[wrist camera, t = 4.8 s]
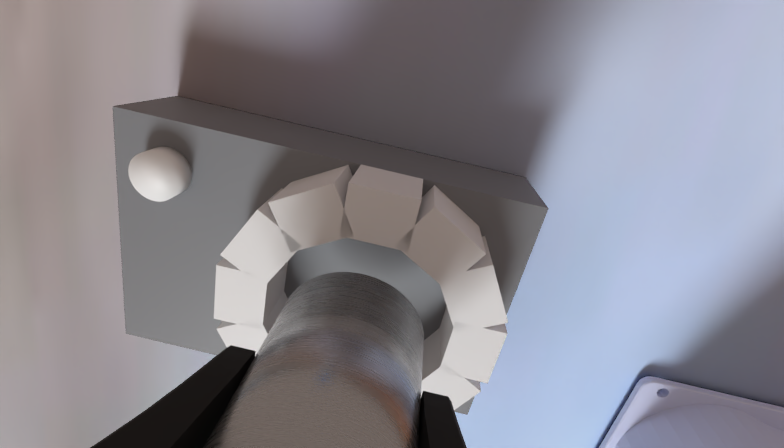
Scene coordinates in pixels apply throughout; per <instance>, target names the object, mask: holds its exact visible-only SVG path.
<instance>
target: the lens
mask: <svg viewBox="0 0 784 448" xmlns="http://www.w3.org/2000/svg"><path fill="white" fill-rule="evenodd" d="M423 348H424V331H423V325H422V322H421V319H420V317H419V315H418V313H417V311H416V309H415V308H414V306H413V305H412V303H411V302H410V301H409V300H408V299H407V298H406V297H405V296H404V295H403V294H402V293H401V292H400V291H398V290H397V289H396V288H394V287H393V286H391V285H390V284H388V283H386V282H384V281H382V280H380V279H377V278H375V277H372V276H368V275H364V274H360V273H353V272H334V273H328V274H323V275H320V276H317V277H314V278H312V279H310V280H308V281H306V282H305V283H303V284H302V285H300V286H299V287H298V288H297V289H296V290H295V291H294V292H293V293H292V294H291V296H290V297H289V298H288V300H287V302H286V303H285V305H284V307H283V309H282V310H281V312H280V314H279V316H278V317H277V319H276V321H275V323H274V324H273V326H272V328H271V330H270V331H269V333H268V335H267V337H266V338H265V340H264V342H263V344H262V345H261V347H260V349H259V351H258V352H257V354H256V356H255V358H254V359H253V361H252V363H251V365H250V366H249V368H248V370H247V372H246V373H245V375H244V377H243V379H242V380H241V382H240V384H239V386H238V387H237V389H236V391H235V393H234V394H233V396H232V398H231V400H230V402H229V403H228V405H227V407H226V409H225V410H224V412H223V414H222V416H221V417H220V419H219V421H218V423H217V424H216V426H215V428H214V430H213V431H212V433H211V435H210V437H209V438H208V440H207V442H206V444H205V445H204V447H203V448H418V441H419V423H420V404H421V385H422V367H423Z"/></svg>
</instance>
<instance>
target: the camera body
mask: <svg viewBox="0 0 784 448" xmlns="http://www.w3.org/2000/svg"><path fill="white" fill-rule="evenodd" d="M113 122H114V139H115V156H116V173H117V191H118V208H119V225H120V242H121V259H122V276H123V293H124V310H125V328H126V334H130V335H134V336H138V337H142V338H147V339H151V340H155V341H159V342H163V343H168V344H172V345H176V346H180V347H184V348H189V349H193V350H197V351H201V352H206V353H210V354H214V355H218V354H219V353H220V352H222V351H223V350H224V349H225V348H227V347H229V346H230V345H232V346H237V347H241V348H245V349H249V350H253V351H256V352H255V356H256V354H257V352H258V351H259V349H260V347H261V345H262V344H263V342H264V340H265V338H266V337H267V335H268V333H269V331H270V330H271V328H272V326H273V324H274V323H275V321H276V319H277V317H278V316H279V314H280V312H281V310H282V309H283V307H284V305H285V303H286V302H287V300H288V298H289V297H290V296H291V294H292V293H293V292H294V291H295V290H296V289H297V288H298V287H299V286H300V285H302V284H303V283H305V282H306V281H308V280H310V279H312V278H314V277H317V276H320V275H323V274H328V273H334V272H353V273H360V274H364V275H368V276H372V277H375V278H377V279H380V280H382V281H384V282H386V283H388V284H390V285H391V286H393V287H394V288H396V289H397V290H398V291H400V292H401V293H402V294H403V295H404V296H405V297H406V298H407V299H408V300H409V301H410V302H411V303H412V305H413V306H414V308H415V309H416V311H417V313H418V315H419V317H420V319H421V322H422V325H423V331H424V348H423V367H422V385H421V396H422V393H423V391H427V392H431V393H435V394H440V395H444V396H448V397H449V398H450V400H451V402H452V405H453V409H454V412H458V413H462V414H468V412H469V409H470V407H471V404H472V402H473V399H474V396H475V395H477V394H478V393H479V392H481V389H480V382H484V383H488V381H489V378H490V376H491V373H492V371H493V369H494V366H495V364H496V361H497V359H498V356H499V354H500V351H501V349H502V346H503V344H504V341H505V339H506V336H507V330H506V326H505V323H508V320H507V316H506V315H507V312H508V310H509V307H510V305H511V302H512V300H513V297H514V295H515V292H516V289H517V287H518V284H519V282H520V279H521V277H522V274H523V272H524V269H525V267H526V264H527V261H528V259H529V256H530V254H531V251H532V249H533V246H534V244H535V241H536V239H537V236H538V233H539V231H540V228H541V226H542V223H543V221H544V218H545V216H546V213H547V210H548V207H547V206H546V205H545V203H544V202H543V200H542V199H541V198H540V196H539V195H538V194H537V192H536V191H535V190H534V188H533V187H532V186H531V184H530V183H529V182H528V180H527V179H526V178H525V177H521V176H517V175H513V174H508V173H504V172H500V171H496V170H491V169H487V168H483V167H478V166H474V165H470V164H466V163H461V162H457V161H453V160H449V159H444V158H440V157H436V156H431V155H427V154H423V153H419V152H414V151H410V150H406V149H402V148H397V147H393V146H389V145H384V144H380V143H376V142H372V141H367V140H363V139H359V138H354V137H350V136H346V135H342V134H337V133H333V132H329V131H325V130H320V129H316V128H312V127H307V126H303V125H299V124H295V123H290V122H286V121H282V120H277V119H273V118H269V117H265V116H260V115H256V114H252V113H248V112H243V111H239V110H235V109H230V108H226V107H222V106H218V105H213V104H209V103H205V102H200V101H196V100H192V99H188V98H183V97H179V96H174V97H168V98H162V99H155V100H149V101H143V102H136V103H130V104H124V105H117V106H113Z"/></svg>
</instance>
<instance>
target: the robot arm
mask: <svg viewBox="0 0 784 448" xmlns="http://www.w3.org/2000/svg"><path fill="white" fill-rule="evenodd" d="M255 352H256V351H253V350H249V349H245V348H241V347H237V346H232V345H230V346H229V347H227V348H225V349H224V350H223V351H222V352H220V353H219V354H218V355H217V356H216V357H214V358H213V359H212V360H211V361H209V362H208V363H207V364H206V365H204V366H203V367H202V368H201V369H199V370H198V371H197V372H196V373H194V374H193V375H192V376H190V377H189V378H188V379H187V380H185V381H184V382H183V383H182V384H180V385H179V386H178V387H176V388H175V389H174V390H172V391H171V392H169V393H168V394H167V395H165V396H164V397H163V398H161V399H160V400H159V401H157V402H156V403H155V404H153V405H152V406H151V407H149V408H148V409H147V410H145V411H144V412H142V413H141V414H139V415H138V416H137V417H135V418H134V419H132V420H131V421H129V422H128V423H126V424H125V425H123V426H122V427H120V428H119V429H117V430H116V431H115V432H113V433H112V434H110V435H109V436H107V437H106V438H104V439H103V440H101V441H100V442H98V443H97V444H95V445H94V446H92V447H90V448H203V447H204V445H205V444H206V442H207V440H208V438H209V437H210V435H211V433H212V431H213V430H214V428H215V426H216V424H217V423H218V421H219V419H220V417H221V416H222V414H223V412H224V410H225V409H226V407H227V405H228V403H229V402H230V400H231V398H232V396H233V394H234V393H235V391H236V389H237V387H238V386H239V384H240V382H241V380H242V379H243V377H244V375H245V373H246V372H247V370H248V368H249V366H250V365H251V363H252V361H253V359H254V358H255ZM660 389H662V390H660ZM658 390H660V391H658ZM418 448H466V445H465V442H464V439H463V436H462V434H461V431H460V428H459V425H458V422H457V418H456V415H455V412H454V409H453V405H452V402H451V400H450V398H449V397H448V396H444V395H440V394H435V393H431V392H427V391H423V393H422V396H421V404H420V423H419V441H418ZM599 448H784V407H780V406H776V405H771V404H767V403H763V402H759V401H754V400H750V399H746V398H742V397H737V396H733V395H729V394H725V393H721V392H716V391H712V390H708V389H704V388H699V387H695V386H691V385H687V384H682V383H678V382H674V381H670V380H665V379H661V378H657V377H652V376H647V377H644V378H642V379H640V380H639V381H638V383H637V384H636V386H635V388H634V389H633V391H632V393H631V394H630V396H629V398H628V399H627V401H626V403H625V404H624V406H623V408H622V409H621V411H620V413H619V414H618V416H617V418H616V420H615V421H614V423H613V425H612V426H611V428H610V430H609V431H608V433H607V435H606V436H605V438H604V440H603V441H602V443H601V445H600V446H599Z"/></svg>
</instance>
